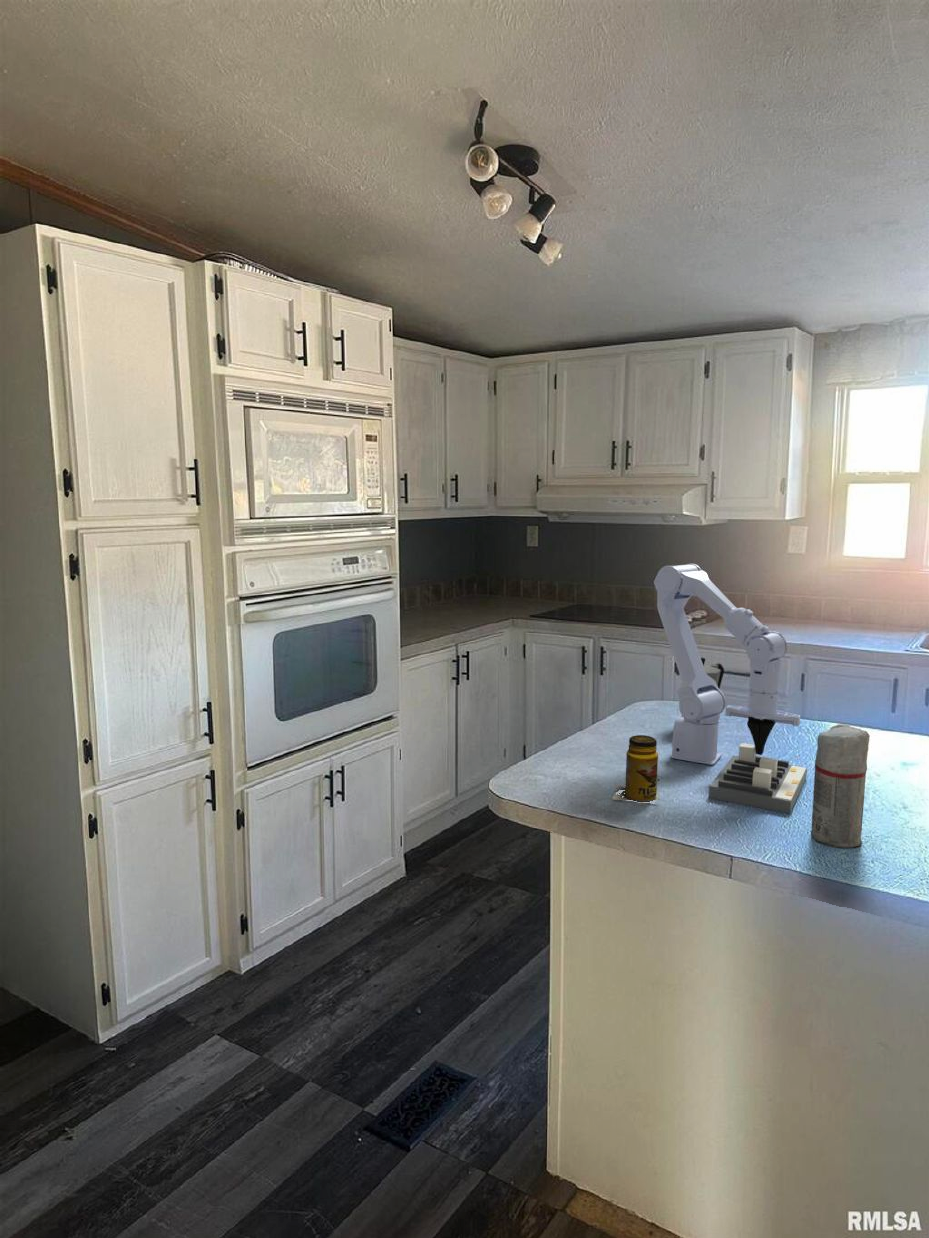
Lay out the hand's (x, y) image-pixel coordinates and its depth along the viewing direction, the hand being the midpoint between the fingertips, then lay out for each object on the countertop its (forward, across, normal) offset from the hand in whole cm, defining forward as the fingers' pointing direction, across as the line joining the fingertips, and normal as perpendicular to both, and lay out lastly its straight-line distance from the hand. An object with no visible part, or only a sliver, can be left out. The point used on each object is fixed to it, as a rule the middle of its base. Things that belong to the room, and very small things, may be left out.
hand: (759, 753), depth 165 cm
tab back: (+2, -2, 0) cm, 3 cm away
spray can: (+5, +18, -25) cm, 31 cm away
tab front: (+2, +3, -14) cm, 15 cm away
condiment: (+5, -18, -24) cm, 31 cm away
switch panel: (+5, +2, -7) cm, 9 cm away
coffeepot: (+5, -20, +30) cm, 36 cm away
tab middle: (+2, +3, -7) cm, 8 cm away
